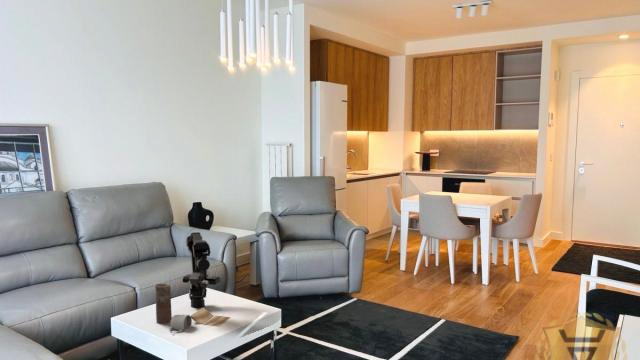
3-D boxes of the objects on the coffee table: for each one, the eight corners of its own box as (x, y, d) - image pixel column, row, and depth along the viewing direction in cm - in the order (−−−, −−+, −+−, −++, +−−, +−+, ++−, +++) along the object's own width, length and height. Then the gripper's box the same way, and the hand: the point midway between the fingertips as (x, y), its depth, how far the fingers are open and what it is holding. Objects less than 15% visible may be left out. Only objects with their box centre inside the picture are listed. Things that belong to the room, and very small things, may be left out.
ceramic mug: (177, 326, 235) (176, 311, 234) (192, 327, 233) (191, 312, 232) (165, 335, 224) (164, 319, 224) (181, 336, 222) (180, 321, 222)
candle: (155, 322, 240) (154, 283, 239) (170, 319, 243) (170, 281, 242) (157, 327, 233) (156, 287, 232) (172, 325, 236) (171, 285, 235)
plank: (190, 317, 236) (191, 315, 236) (202, 309, 247) (203, 307, 247) (200, 325, 235) (202, 323, 234) (212, 317, 246) (213, 315, 246)
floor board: (202, 327, 234) (202, 324, 234) (215, 317, 246) (215, 315, 246) (219, 328, 231) (219, 326, 231) (231, 319, 244) (231, 317, 244)
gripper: (176, 268, 237) (176, 299, 238) (210, 271, 233) (210, 302, 234) (187, 263, 248) (188, 292, 249) (220, 265, 243) (221, 295, 245)
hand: (201, 296), depth 244 cm, fingers closed
